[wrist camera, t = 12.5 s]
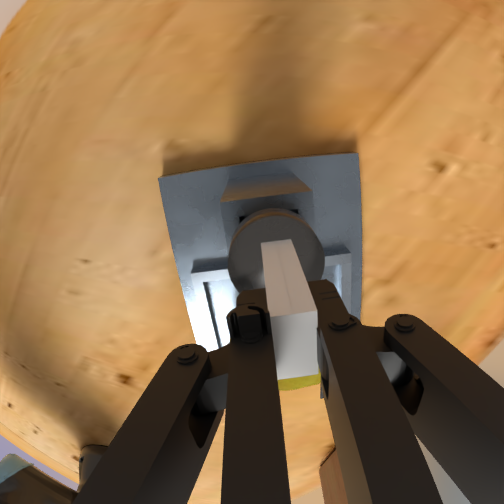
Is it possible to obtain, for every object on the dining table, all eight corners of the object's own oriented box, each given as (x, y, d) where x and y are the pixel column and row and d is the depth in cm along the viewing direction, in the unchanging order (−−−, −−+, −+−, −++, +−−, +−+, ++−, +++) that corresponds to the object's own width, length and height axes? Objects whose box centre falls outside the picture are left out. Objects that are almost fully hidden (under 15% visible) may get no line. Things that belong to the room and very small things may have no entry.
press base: (209, 373, 37) (200, 440, 27) (162, 175, 28) (120, 199, 19) (353, 355, 36) (378, 417, 27) (352, 151, 28) (403, 164, 18)
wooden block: (388, 439, 45) (419, 530, 26) (362, 467, 48) (383, 550, 30) (339, 440, 44) (364, 544, 25) (316, 468, 47) (331, 560, 29)
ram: (239, 245, 27) (235, 312, 17) (230, 187, 25) (220, 224, 15) (298, 238, 27) (326, 300, 17) (292, 179, 25) (322, 212, 15)
